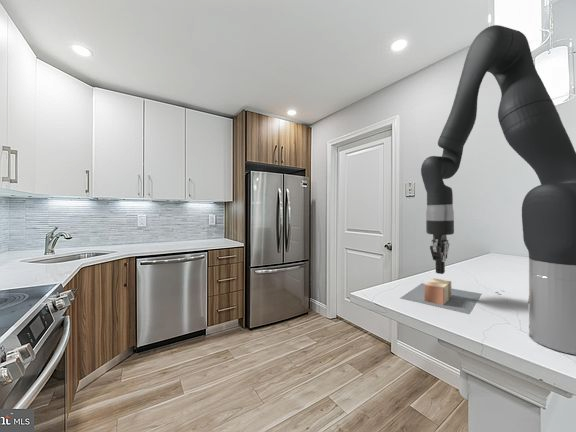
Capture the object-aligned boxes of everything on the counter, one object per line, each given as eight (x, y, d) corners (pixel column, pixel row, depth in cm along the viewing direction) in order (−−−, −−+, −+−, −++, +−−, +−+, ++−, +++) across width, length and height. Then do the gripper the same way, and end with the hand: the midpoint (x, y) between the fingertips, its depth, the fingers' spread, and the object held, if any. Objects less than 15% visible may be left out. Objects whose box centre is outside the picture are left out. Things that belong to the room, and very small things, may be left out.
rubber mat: (481, 294, 80) (481, 293, 80) (469, 315, 65) (469, 314, 65) (421, 284, 93) (421, 283, 93) (399, 299, 78) (399, 298, 78)
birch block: (451, 281, 78) (443, 288, 71) (451, 296, 78) (443, 305, 71) (433, 278, 82) (424, 284, 75) (433, 293, 82) (424, 301, 75)
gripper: (448, 220, 71) (448, 279, 71) (458, 218, 80) (458, 271, 80) (420, 219, 76) (420, 275, 76) (432, 218, 85) (433, 267, 85)
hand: (440, 273), depth 78 cm, fingers closed
